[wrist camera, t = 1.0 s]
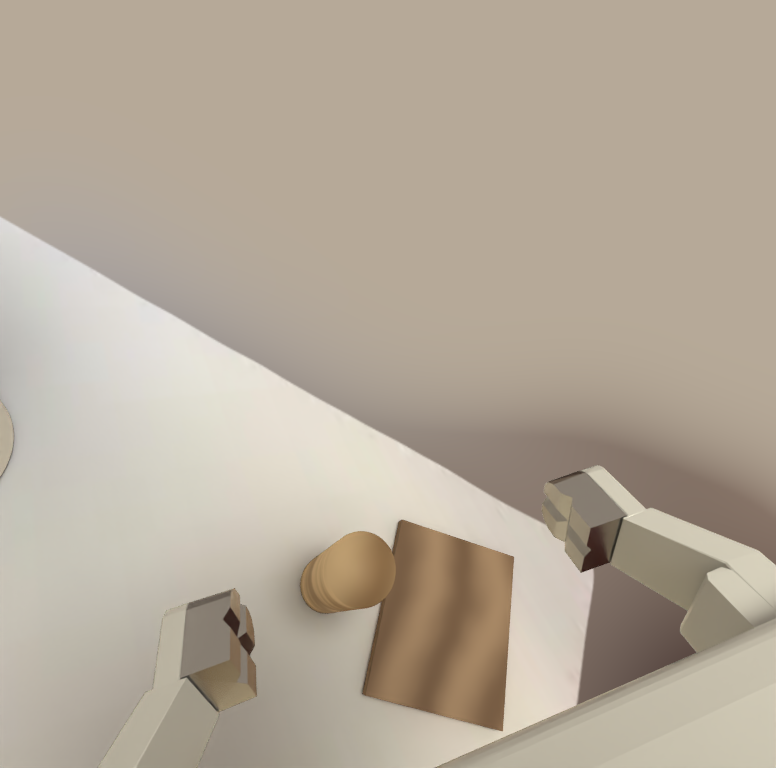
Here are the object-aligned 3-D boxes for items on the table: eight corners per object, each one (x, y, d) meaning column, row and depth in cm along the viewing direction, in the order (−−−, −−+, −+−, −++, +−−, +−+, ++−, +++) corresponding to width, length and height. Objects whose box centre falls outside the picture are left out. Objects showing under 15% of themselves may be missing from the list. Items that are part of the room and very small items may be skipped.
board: (362, 693, 37) (365, 695, 37) (398, 521, 46) (402, 519, 45) (496, 729, 39) (502, 731, 39) (508, 558, 48) (513, 556, 47)
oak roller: (292, 604, 39) (317, 596, 29) (310, 547, 42) (338, 522, 32) (345, 619, 40) (387, 617, 30) (359, 563, 42) (402, 543, 32)
